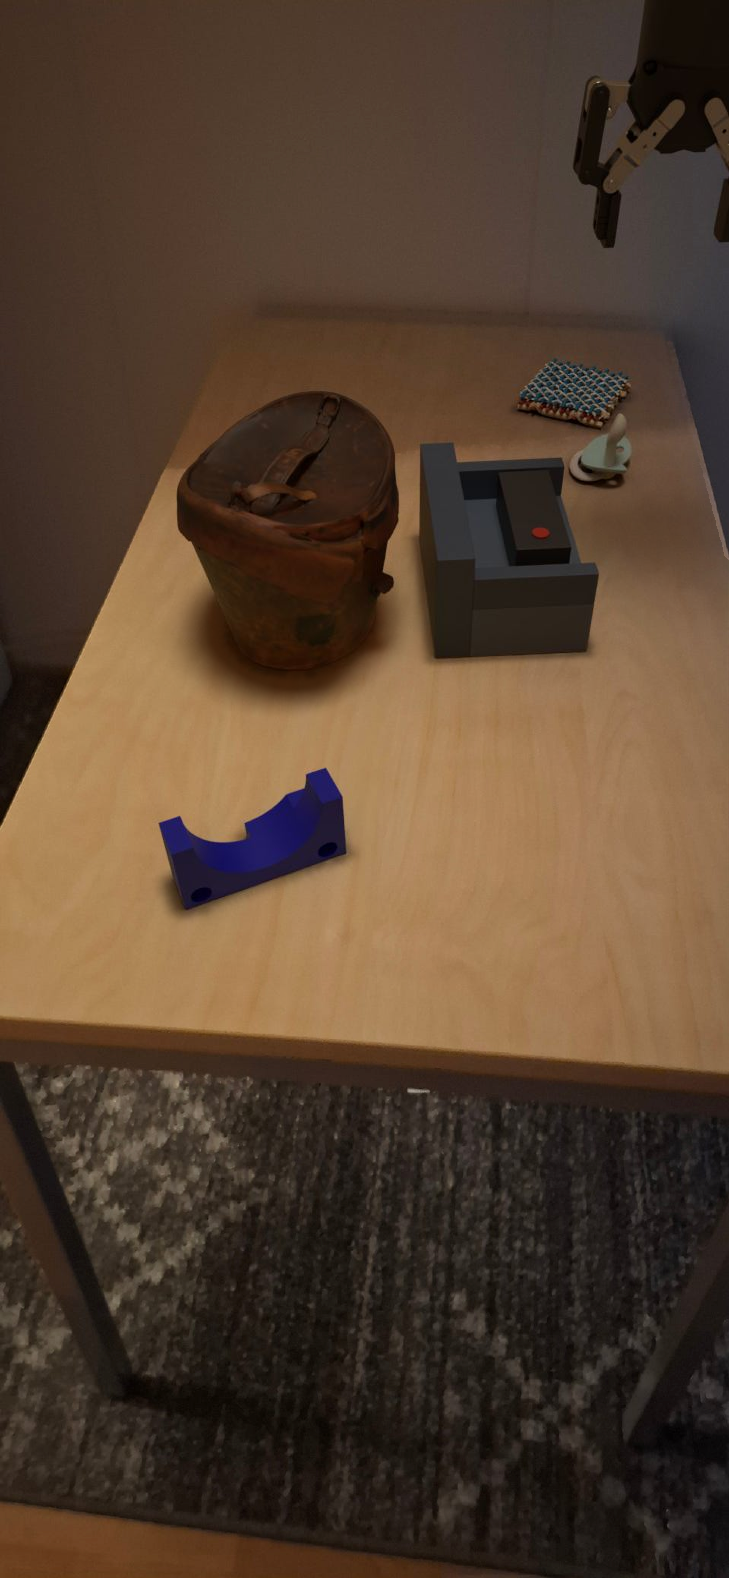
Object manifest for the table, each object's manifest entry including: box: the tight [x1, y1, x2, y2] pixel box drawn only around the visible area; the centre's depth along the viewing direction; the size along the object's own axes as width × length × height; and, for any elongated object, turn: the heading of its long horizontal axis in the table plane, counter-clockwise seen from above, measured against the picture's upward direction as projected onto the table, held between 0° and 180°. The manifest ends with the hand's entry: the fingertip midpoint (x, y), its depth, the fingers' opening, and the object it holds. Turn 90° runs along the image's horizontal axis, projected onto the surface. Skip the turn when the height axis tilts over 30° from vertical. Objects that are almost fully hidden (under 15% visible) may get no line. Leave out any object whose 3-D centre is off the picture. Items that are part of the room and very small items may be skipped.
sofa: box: [418, 442, 600, 659], centre depth 91 cm, size 13×18×10 cm
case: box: [176, 390, 400, 670], centre depth 86 cm, size 18×20×18 cm
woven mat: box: [516, 357, 632, 430], centre depth 118 cm, size 10×11×2 cm
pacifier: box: [568, 413, 632, 482], centre depth 106 cm, size 7×6×6 cm
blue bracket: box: [158, 767, 347, 911], centre depth 72 cm, size 12×4×6 cm, turn 114°
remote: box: [496, 470, 571, 566], centre depth 90 cm, size 4×12×4 cm, turn 2°
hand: (663, 241), depth 77 cm, fingers open, 8 cm apart
